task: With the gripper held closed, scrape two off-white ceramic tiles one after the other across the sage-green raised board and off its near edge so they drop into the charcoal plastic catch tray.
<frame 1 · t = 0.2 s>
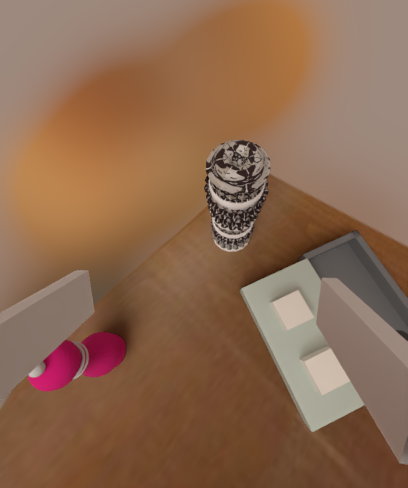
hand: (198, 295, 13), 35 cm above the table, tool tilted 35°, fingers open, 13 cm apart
tray: (361, 305, 44), on the table
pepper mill: (111, 350, 45), on the table
board: (301, 334, 44), on the table
black and white jar: (231, 234, 51), on the table
tile a: (320, 367, 38), point 4 cm above the table, touching board
tile b: (289, 310, 41), point 4 cm above the table, touching board
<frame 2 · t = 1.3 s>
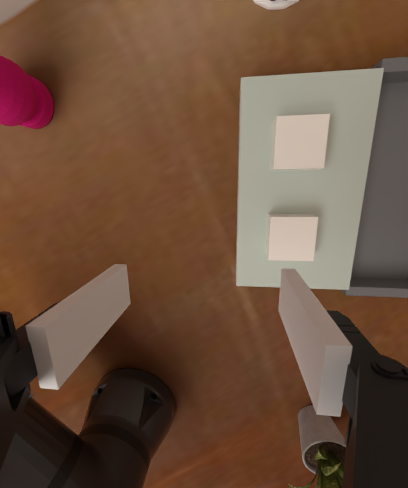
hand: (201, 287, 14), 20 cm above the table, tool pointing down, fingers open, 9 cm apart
tray: (397, 190, 29), on the table
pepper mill: (34, 104, 32), on the table
board: (290, 191, 31), on the table
tile a: (287, 234, 28), point 4 cm above the table, touching board
tile b: (294, 146, 26), point 4 cm above the table, touching board
house plant: (314, 422, 40), on the table
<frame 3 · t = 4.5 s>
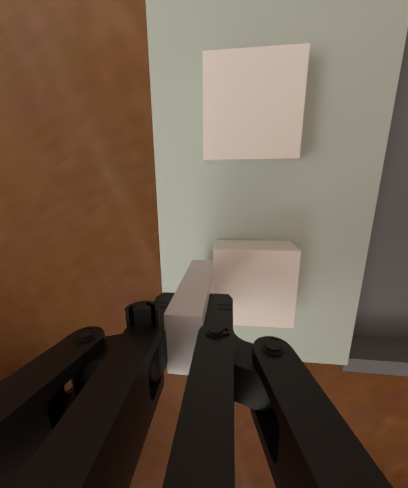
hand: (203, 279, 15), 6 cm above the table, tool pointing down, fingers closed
board: (255, 199, 19), on the table
tile a: (250, 274, 16), point 4 cm above the table, touching gripper
tile b: (248, 119, 14), point 4 cm above the table, touching board
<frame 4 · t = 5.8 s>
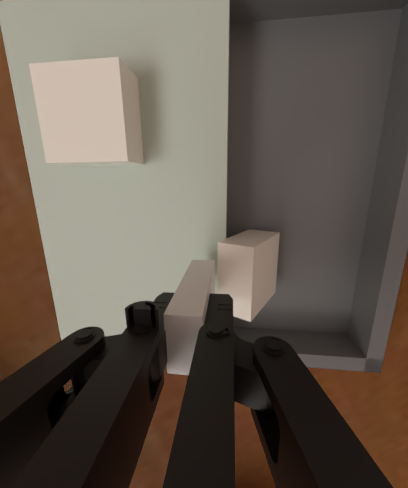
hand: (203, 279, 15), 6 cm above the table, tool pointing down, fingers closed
tray: (302, 198, 19), on the table
board: (146, 199, 20), on the table
tile a: (234, 266, 18), point 3 cm above the table, tilted 62°
tile b: (103, 125, 15), point 4 cm above the table, touching board
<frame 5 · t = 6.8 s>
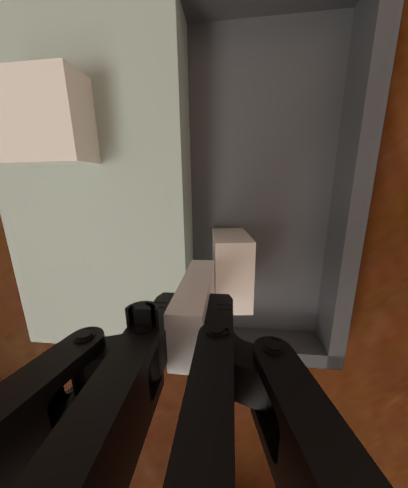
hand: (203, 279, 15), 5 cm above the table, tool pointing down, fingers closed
tray: (265, 197, 19), on the table
board: (113, 198, 20), on the table
tile a: (213, 267, 17), point 3 cm above the table, tilted 97°, touching gripper, tray
tile b: (60, 125, 15), point 4 cm above the table, touching board
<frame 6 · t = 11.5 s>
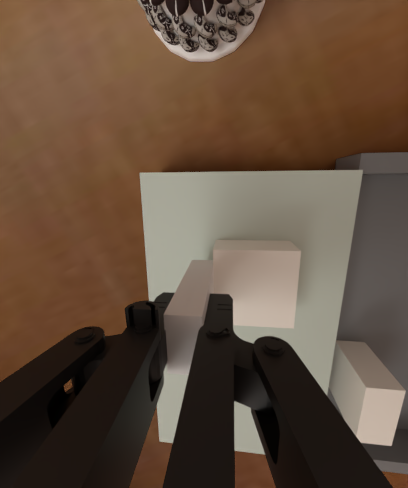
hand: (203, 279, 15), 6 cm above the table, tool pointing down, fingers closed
tray: (388, 316, 20), on the table
board: (237, 307, 22), on the table
tile a: (344, 386, 19), point 3 cm above the table, tilted 90°, touching tray
tile b: (251, 274, 16), point 4 cm above the table, touching gripper
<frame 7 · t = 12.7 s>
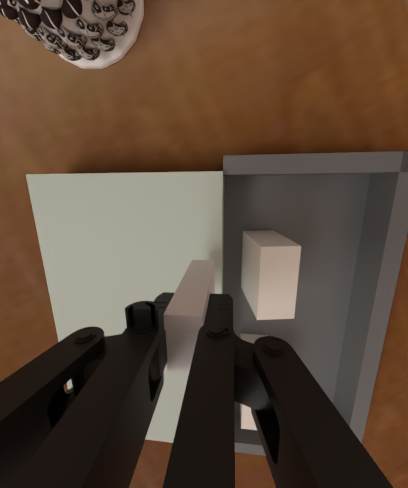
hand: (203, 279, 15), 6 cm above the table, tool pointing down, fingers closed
tray: (288, 310, 21), on the table
board: (151, 303, 22), on the table
black and white jar: (90, 6, 17), on the table
tile a: (240, 376, 20), point 3 cm above the table, tilted 90°, touching tray
tile b: (249, 270, 17), point 3 cm above the table, tilted 100°, touching tray
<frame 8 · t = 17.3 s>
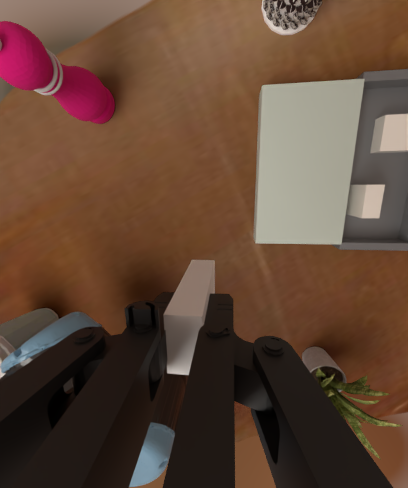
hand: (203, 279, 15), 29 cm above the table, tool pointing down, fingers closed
tray: (378, 169, 38), on the table
disposable coffee cup: (47, 317, 54), on the table
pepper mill: (99, 105, 41), on the table
board: (297, 171, 40), on the table
black and white jar: (290, 3, 34), on the table
tile a: (355, 200, 37), point 3 cm above the table, tilted 90°, touching tray
tile b: (400, 132, 34), point 3 cm above the table, tilted 180°, touching tray
house plant: (315, 361, 49), on the table
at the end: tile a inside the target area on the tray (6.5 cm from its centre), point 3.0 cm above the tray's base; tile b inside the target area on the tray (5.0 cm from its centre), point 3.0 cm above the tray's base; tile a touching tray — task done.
